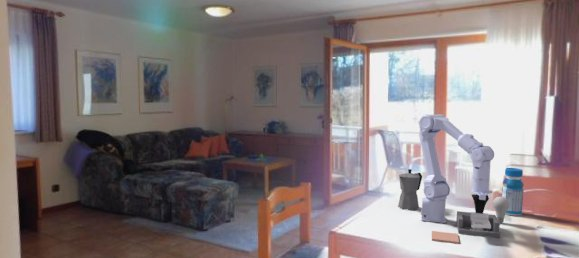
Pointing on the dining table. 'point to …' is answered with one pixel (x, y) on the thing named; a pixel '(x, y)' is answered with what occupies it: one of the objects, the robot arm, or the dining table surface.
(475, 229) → the plug
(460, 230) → the socket block
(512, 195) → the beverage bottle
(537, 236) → the dining table surface
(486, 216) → the clip
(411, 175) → the coffeepot
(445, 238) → the mat
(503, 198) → the lightbulb
